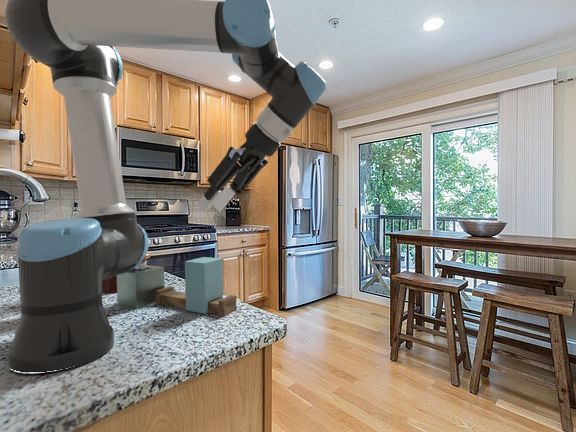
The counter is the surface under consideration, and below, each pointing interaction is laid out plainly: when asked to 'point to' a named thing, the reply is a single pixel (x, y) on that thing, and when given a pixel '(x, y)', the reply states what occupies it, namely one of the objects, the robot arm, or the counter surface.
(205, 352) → the counter surface
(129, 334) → the counter surface
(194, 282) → the carriage
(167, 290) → the rail
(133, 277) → the grey button housing
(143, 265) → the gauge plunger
